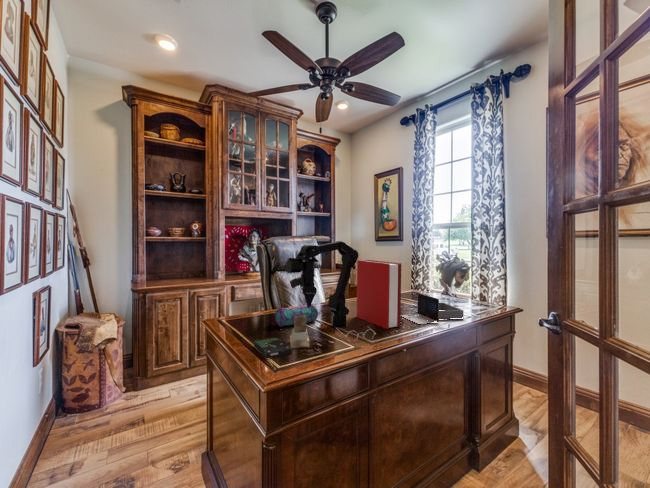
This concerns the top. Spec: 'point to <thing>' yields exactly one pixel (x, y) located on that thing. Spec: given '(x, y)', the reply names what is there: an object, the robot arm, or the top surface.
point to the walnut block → (299, 323)
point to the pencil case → (287, 315)
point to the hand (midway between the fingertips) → (307, 305)
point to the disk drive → (273, 347)
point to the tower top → (299, 335)
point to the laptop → (426, 310)
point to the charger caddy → (448, 311)
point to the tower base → (299, 343)
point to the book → (379, 292)
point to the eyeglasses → (356, 332)
